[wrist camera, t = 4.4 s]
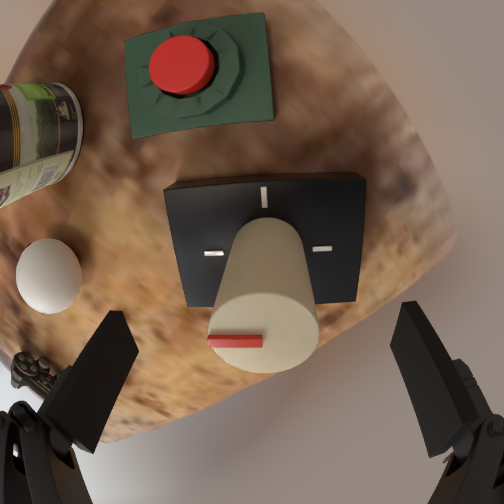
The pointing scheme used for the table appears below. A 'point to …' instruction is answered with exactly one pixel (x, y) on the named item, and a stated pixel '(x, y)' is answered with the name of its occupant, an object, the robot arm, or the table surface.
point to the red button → (182, 65)
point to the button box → (216, 90)
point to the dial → (265, 301)
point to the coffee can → (36, 137)
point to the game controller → (32, 374)
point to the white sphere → (48, 276)
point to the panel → (269, 206)
